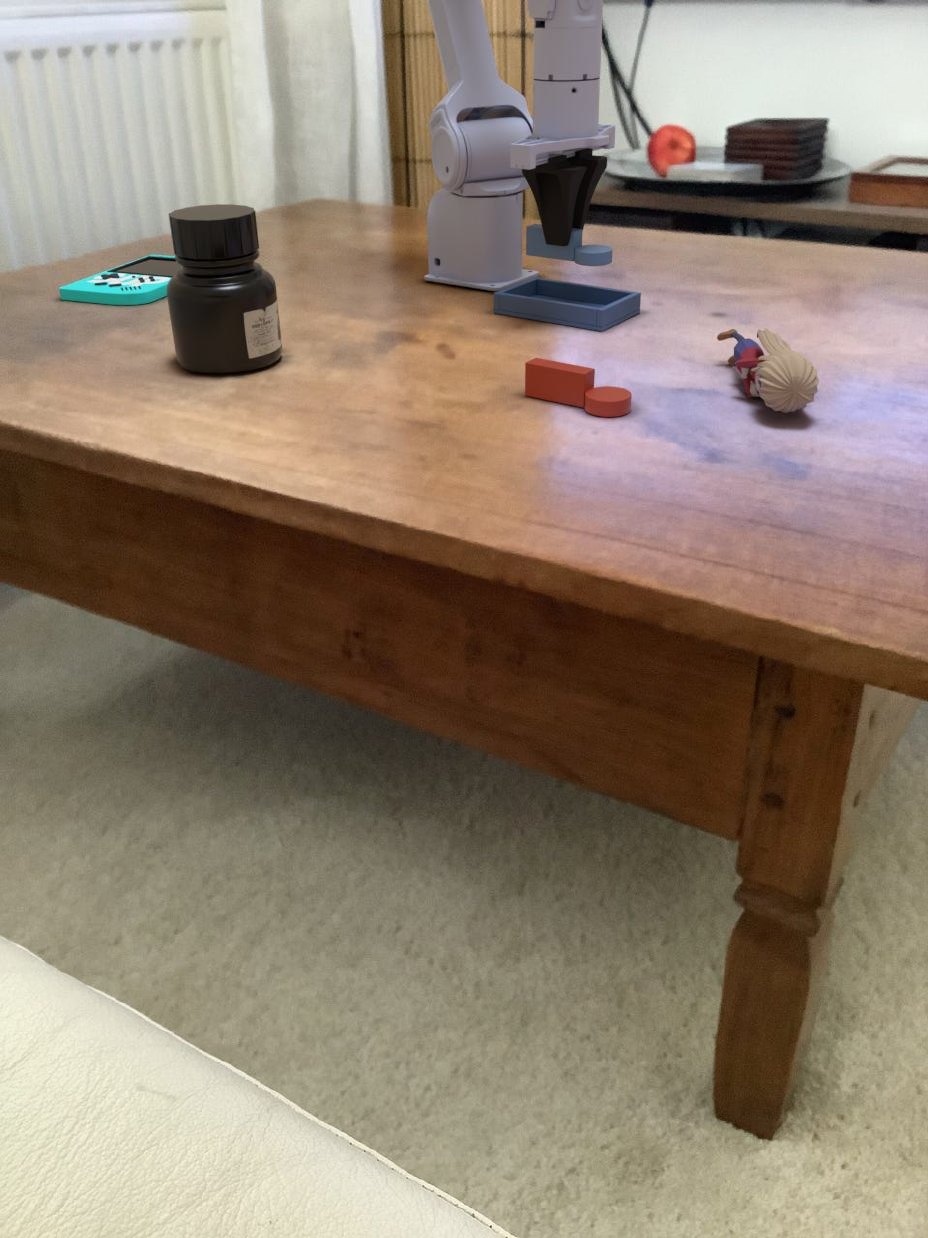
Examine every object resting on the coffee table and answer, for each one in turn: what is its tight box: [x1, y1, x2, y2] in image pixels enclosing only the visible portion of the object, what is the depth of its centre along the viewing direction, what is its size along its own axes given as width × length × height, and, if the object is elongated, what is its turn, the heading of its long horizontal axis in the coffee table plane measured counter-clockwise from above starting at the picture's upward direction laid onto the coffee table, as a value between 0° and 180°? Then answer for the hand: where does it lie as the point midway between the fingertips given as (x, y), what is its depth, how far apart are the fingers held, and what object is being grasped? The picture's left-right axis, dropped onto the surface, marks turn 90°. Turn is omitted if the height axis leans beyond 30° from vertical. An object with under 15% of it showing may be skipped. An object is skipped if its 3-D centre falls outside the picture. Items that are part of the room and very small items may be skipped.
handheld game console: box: [58, 254, 182, 306], centre depth 119 cm, size 10×16×1 cm, turn 158°
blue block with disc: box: [525, 223, 613, 267], centre depth 103 cm, size 8×3×3 cm, turn 54°
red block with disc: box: [524, 357, 633, 418], centre depth 84 cm, size 8×3×3 cm, turn 54°
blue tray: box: [493, 276, 642, 332], centre depth 106 cm, size 12×7×2 cm, turn 54°
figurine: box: [716, 328, 820, 414], centre depth 85 cm, size 6×4×15 cm
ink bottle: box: [166, 203, 283, 374], centre depth 93 cm, size 10×9×12 cm
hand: (562, 242), depth 103 cm, fingers closed on blue block with disc
